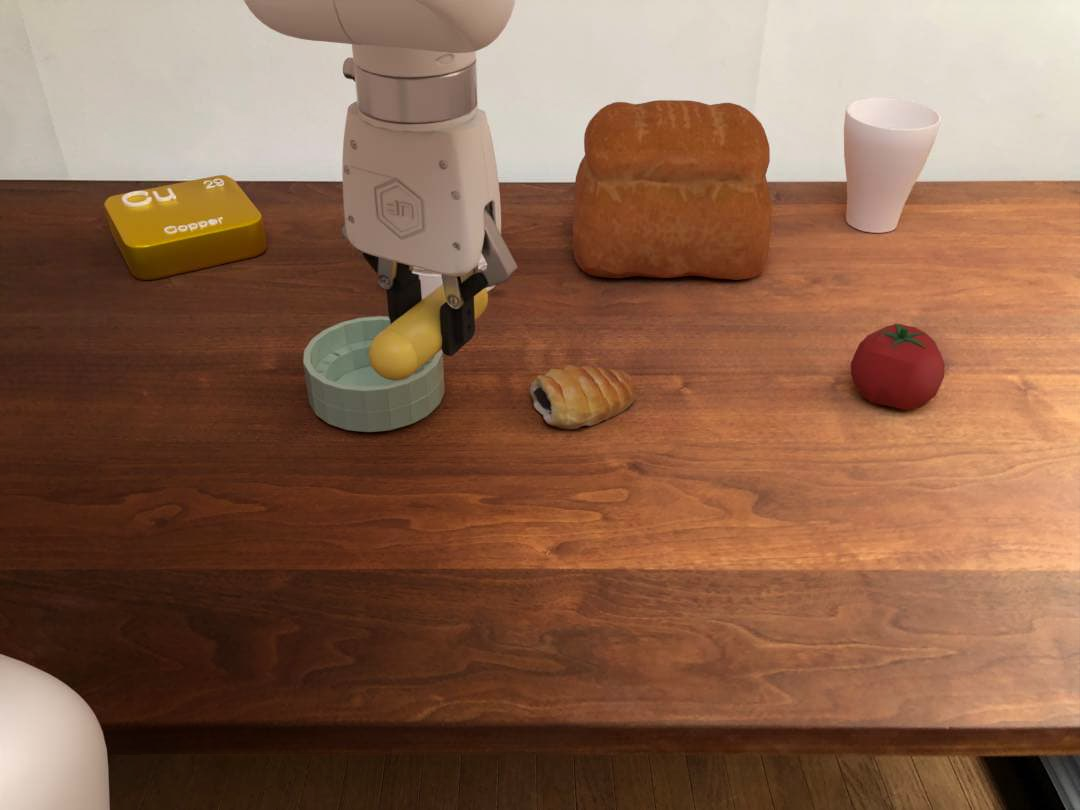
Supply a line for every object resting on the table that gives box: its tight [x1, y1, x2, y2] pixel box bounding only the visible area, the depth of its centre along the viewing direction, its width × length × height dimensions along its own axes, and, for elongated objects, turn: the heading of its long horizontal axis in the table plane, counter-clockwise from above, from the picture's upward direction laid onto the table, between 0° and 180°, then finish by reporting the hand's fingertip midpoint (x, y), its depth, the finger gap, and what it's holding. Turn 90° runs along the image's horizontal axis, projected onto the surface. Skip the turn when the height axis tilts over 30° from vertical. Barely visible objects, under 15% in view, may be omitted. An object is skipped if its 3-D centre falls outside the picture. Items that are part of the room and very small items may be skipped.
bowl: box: [302, 315, 446, 433], centre depth 95 cm, size 12×12×5 cm
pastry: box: [529, 364, 637, 430], centre depth 94 cm, size 9×7×4 cm
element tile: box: [103, 174, 268, 281], centre depth 120 cm, size 15×15×5 cm
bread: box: [572, 99, 773, 281], centre depth 115 cm, size 18×22×17 cm
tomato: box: [850, 322, 946, 411], centre depth 95 cm, size 8×8×7 cm
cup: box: [843, 97, 942, 234], centre depth 123 cm, size 10×10×14 cm
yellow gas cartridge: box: [369, 278, 489, 380], centre depth 76 cm, size 14×4×4 cm, turn 152°
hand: (432, 336), depth 76 cm, fingers closed on yellow gas cartridge, 3 cm apart
